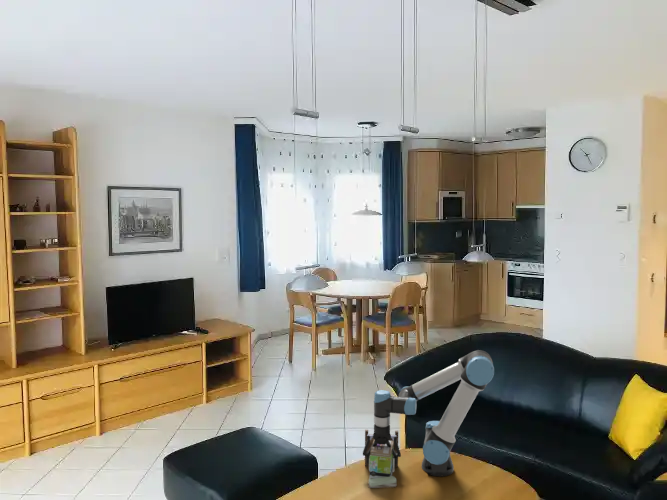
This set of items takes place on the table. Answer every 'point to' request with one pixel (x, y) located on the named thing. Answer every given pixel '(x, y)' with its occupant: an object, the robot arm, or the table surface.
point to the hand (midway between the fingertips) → (381, 470)
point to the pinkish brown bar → (383, 487)
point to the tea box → (381, 461)
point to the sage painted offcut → (382, 481)
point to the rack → (372, 443)
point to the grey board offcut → (384, 485)
